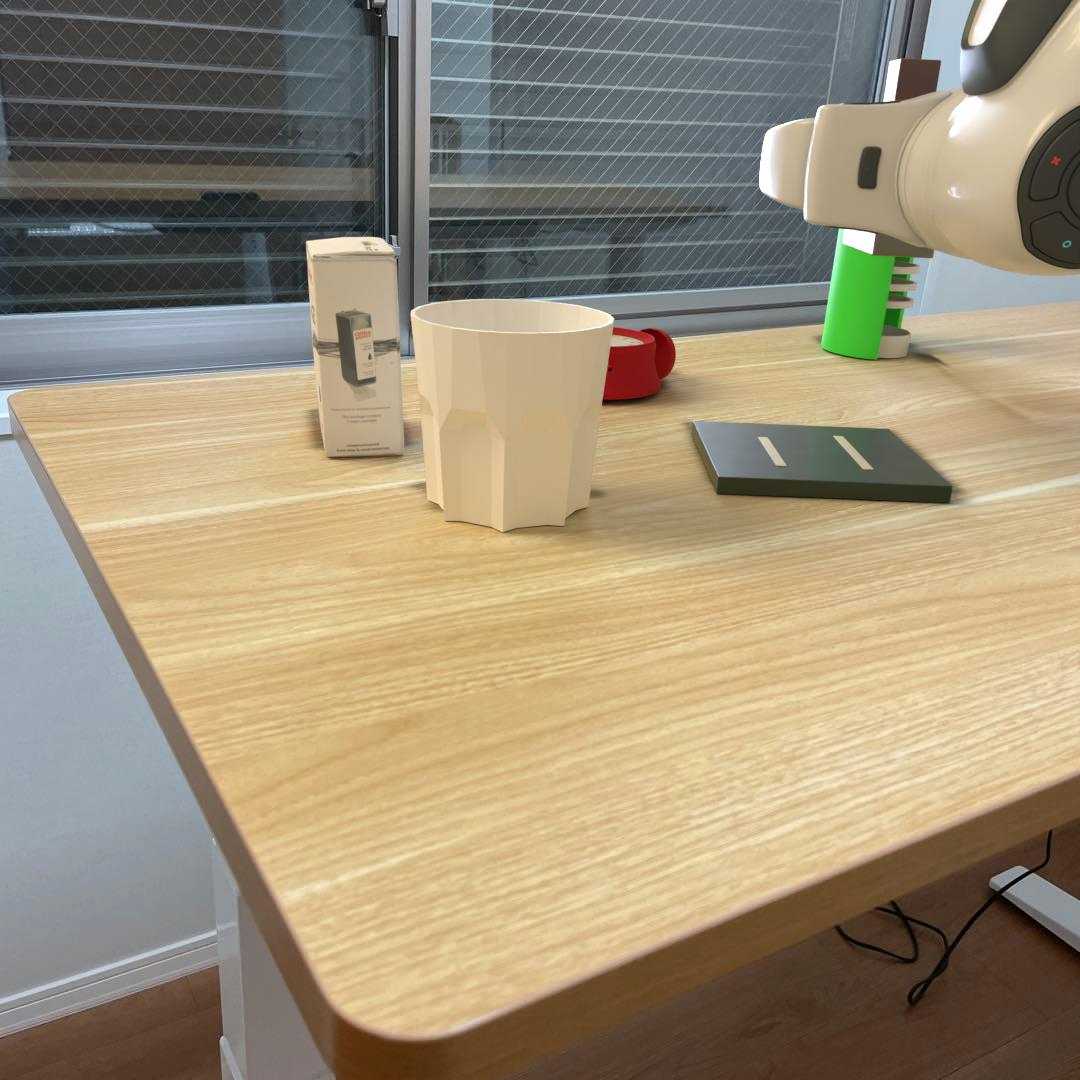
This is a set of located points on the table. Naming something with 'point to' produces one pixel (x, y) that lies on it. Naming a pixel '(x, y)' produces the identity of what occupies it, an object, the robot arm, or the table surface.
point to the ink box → (356, 345)
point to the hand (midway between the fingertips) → (894, 166)
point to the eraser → (901, 85)
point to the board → (815, 462)
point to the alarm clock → (637, 362)
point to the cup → (510, 407)
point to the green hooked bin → (868, 304)
